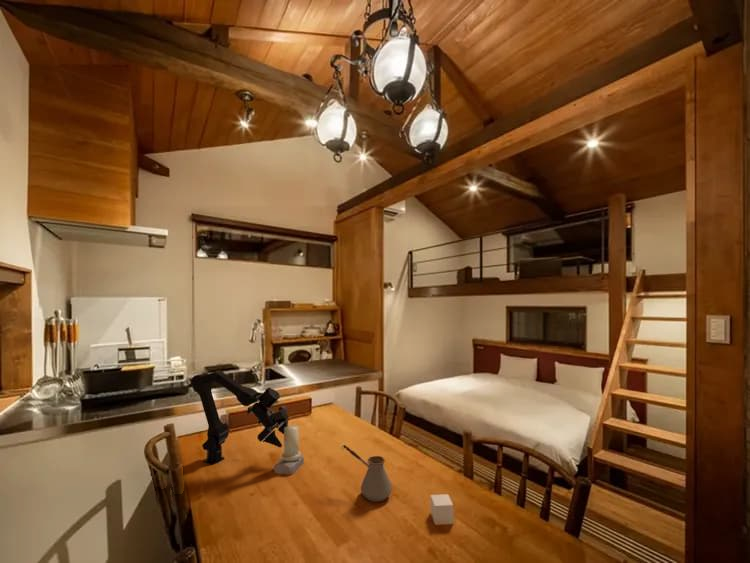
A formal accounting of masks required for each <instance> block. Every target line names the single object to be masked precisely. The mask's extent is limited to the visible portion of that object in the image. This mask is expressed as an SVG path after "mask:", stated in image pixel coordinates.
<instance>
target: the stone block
mask: <svg viewBox="0 0 750 563" xmlns="http://www.w3.org/2000/svg"><path fill="white" fill-rule="evenodd" d="M304 461H305V457H304V455H301V457H300V458H299V459H298V460H295V461H290V462H287V461H283V460H282V458H280V459H279V460H278V462H277V463H275V464H274V465H273V471H274V473H275V474H279V475H287V474H290V476H291V475H292V474H293V475H294V474H295V473H296V472H297V470H298V469H300V467H301V466H302V465H303V464H304Z"/></svg>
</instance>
